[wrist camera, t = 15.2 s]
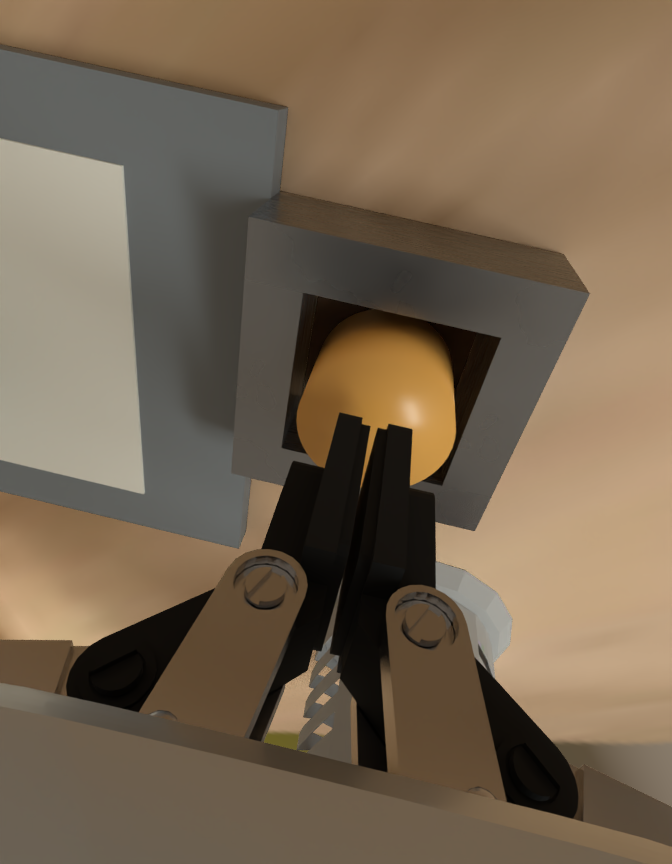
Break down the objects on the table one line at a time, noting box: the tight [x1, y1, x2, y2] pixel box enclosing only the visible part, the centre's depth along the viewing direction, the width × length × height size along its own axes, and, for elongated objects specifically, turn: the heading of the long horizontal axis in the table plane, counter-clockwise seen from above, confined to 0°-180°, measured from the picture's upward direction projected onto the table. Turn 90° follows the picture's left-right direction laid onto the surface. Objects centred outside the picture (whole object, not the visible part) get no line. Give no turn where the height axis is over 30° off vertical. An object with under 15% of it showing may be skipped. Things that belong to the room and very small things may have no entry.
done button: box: [296, 309, 456, 488], centre depth 14 cm, size 4×4×3 cm
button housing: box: [231, 191, 590, 531], centre depth 16 cm, size 8×8×3 cm
